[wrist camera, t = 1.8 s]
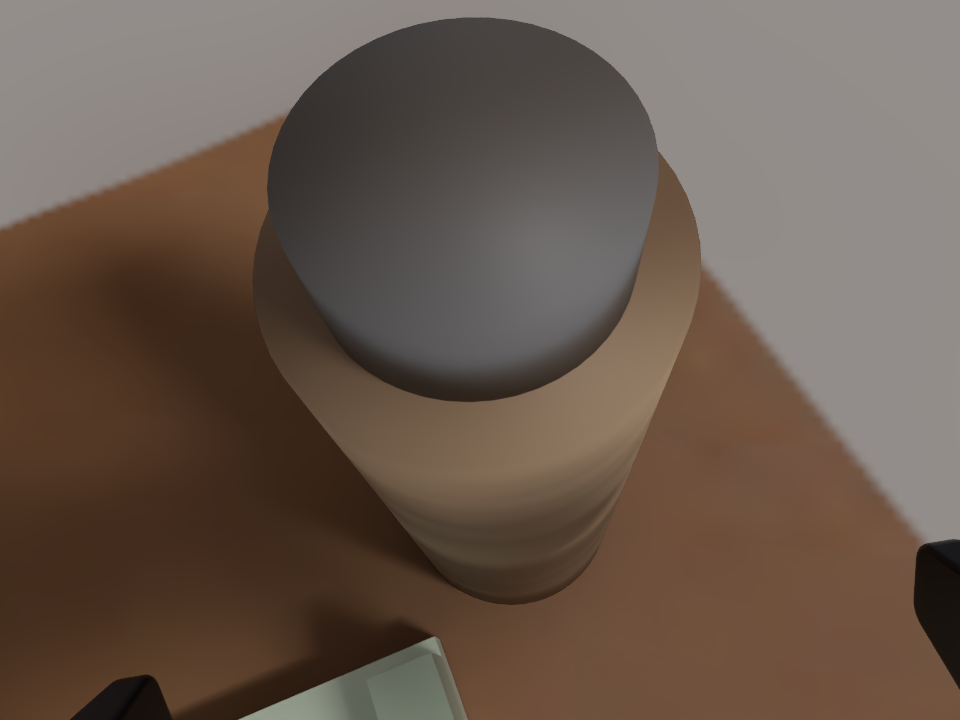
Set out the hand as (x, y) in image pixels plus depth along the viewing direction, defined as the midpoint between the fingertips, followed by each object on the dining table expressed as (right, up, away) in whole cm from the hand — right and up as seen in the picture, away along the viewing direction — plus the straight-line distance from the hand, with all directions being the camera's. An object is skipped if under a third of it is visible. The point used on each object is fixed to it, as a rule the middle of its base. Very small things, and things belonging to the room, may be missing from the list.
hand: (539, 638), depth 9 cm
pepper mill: (0, -1, +12) cm, 12 cm away
